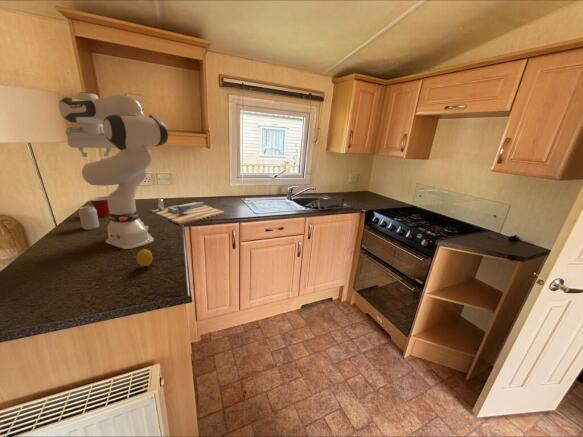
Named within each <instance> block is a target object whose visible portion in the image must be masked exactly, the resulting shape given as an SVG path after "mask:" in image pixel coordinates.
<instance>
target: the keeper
mask: <svg viewBox="0 0 583 437" xmlns="http://www.w3.org/2000/svg"><path fill="white" fill-rule="evenodd" d="M187 209H190V206H182V207H178V210H179V215H184V212H183V210H187Z"/></svg>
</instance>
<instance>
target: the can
mask: <svg viewBox="0 0 583 437" xmlns="http://www.w3.org/2000/svg"><path fill="white" fill-rule="evenodd" d="M78 215H79V216H78V217H79V221H80V223H81V224H80V225H81V228H82V229H83V230H87V231H90V230H96V229H98V228H99V227H100V221H99V217H98V215H97V211H96V209H95V208H94V206H93V205H86V206H81V207H79V210H78Z"/></svg>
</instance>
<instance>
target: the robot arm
mask: <svg viewBox="0 0 583 437" xmlns="http://www.w3.org/2000/svg"><path fill="white" fill-rule="evenodd" d="M58 109H59V110H58V111H59V113H60V115H61V116H62V118H63V119H65V121H66V120H67V122H69V123H79V124H80V126H79V127H72V126H71V127H70V126H69V127H67V128H66V129H65V134H66V135H65V136H67V144H68V146H69V147H70V148H72V149H73V148H76V149H77V148H78V150H79V152H80V153H81V156H82V157H84V158H87V157H88V155H87V154H88V153H87V152H84V151H83V150H84V149H85V148H87V149H88V148H89V149H93V148H94V149H105V150H106V152H103V154H104V157H106V158H104V159H99V160H97V161H92V162H87V163H85V164H84V166H83V167H82V170H81V176H82V178H83V180H84V181H85V182H87V184H89V185H90V186H102V187H104V186H114V185H118V186H117V187H116V189H115V190H114V191H113V192H111V193H109V194H108V198H107V201H108V206H109V216H108V218H109V223H108V224H107V227H106V228H107V236H108V238H107V239H105V243H106V244H108V245H111V246H115V247H117V248H120V249H123V250H128V249H135V248H138V247H139V248H140V247H142V246H146V245H148V244H151V243H152V242H154V241H155V239H154V237H152V235H151V234H150V233H149V232H148V231H149V226H148V225H145V223H144V221H142V220H141V218H140V216H139V212H138V209H137V207H136V206H137V205H136V192H137V189H138V187H139V186H140V184H142V182H143V181H144V180H145V179H146V178H147V174H148V172H147V168H149V166H150V165H151V163H152V161H153V154H152V152H151V150H150V149H149V148H148V147H152V146H155V147H158V146H162V145H166V143H167V141H168V139H169V132H168V127H167V125H166V124H165V123H163V121H162V120H160V119H158V118H155V117H154V116H153V115H152V114H149V115H145V114H144V111H143V109H142V106H141V104H140V102H139V101H138V100H136V99H135V98H133V97H132V96H131V97H130V96H127V95H122V94H121V95H120V94H118V95H116V94H115V95H110V96H105V97H99V96H98V95H97V94H96V93H93V92H92V93H91V92H84V91H82V92H77V94H76V98H71V97H64V98H62V99H61V100H60V101H59V102H58ZM111 149H118V150H120V151H119V152H117V153H116V154H114V155H113V156H110V152H111V151H112V150H111Z"/></svg>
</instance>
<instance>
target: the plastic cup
mask: <svg viewBox="0 0 583 437" xmlns="http://www.w3.org/2000/svg"><path fill="white" fill-rule="evenodd" d="M108 196H109V195H108ZM108 196H105V195H104V196H97V197H91V198H89V201H90V203H91V204H92V206H94V208H95V209H96V211H97V216H98V218H107V217H108V218H109V206H108V201H107V198H108Z"/></svg>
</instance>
